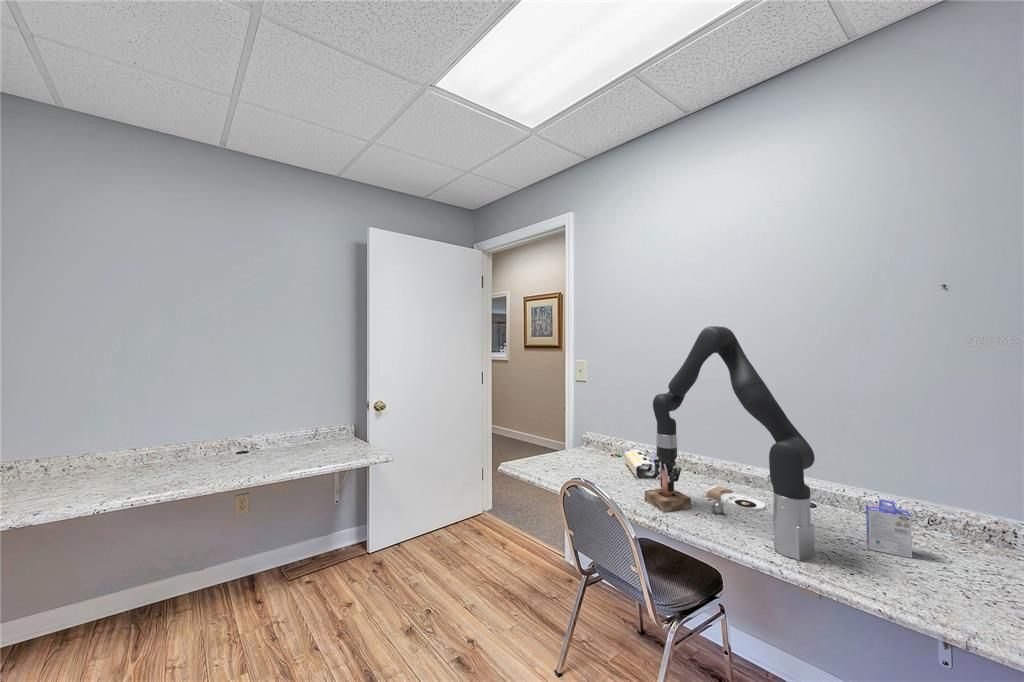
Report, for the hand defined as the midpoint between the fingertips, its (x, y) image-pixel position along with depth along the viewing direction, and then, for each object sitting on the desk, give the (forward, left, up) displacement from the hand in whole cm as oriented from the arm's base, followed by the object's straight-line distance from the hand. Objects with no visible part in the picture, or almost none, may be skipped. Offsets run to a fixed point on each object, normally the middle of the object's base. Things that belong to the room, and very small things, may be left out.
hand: (667, 489), depth 161 cm
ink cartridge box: (-50, -40, -6) cm, 64 cm away
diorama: (+39, -14, -6) cm, 42 cm away
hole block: (0, 0, -6) cm, 6 cm away
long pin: (0, 0, -4) cm, 4 cm away
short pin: (-13, -12, -6) cm, 19 cm away
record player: (-6, -27, -7) cm, 29 cm away
